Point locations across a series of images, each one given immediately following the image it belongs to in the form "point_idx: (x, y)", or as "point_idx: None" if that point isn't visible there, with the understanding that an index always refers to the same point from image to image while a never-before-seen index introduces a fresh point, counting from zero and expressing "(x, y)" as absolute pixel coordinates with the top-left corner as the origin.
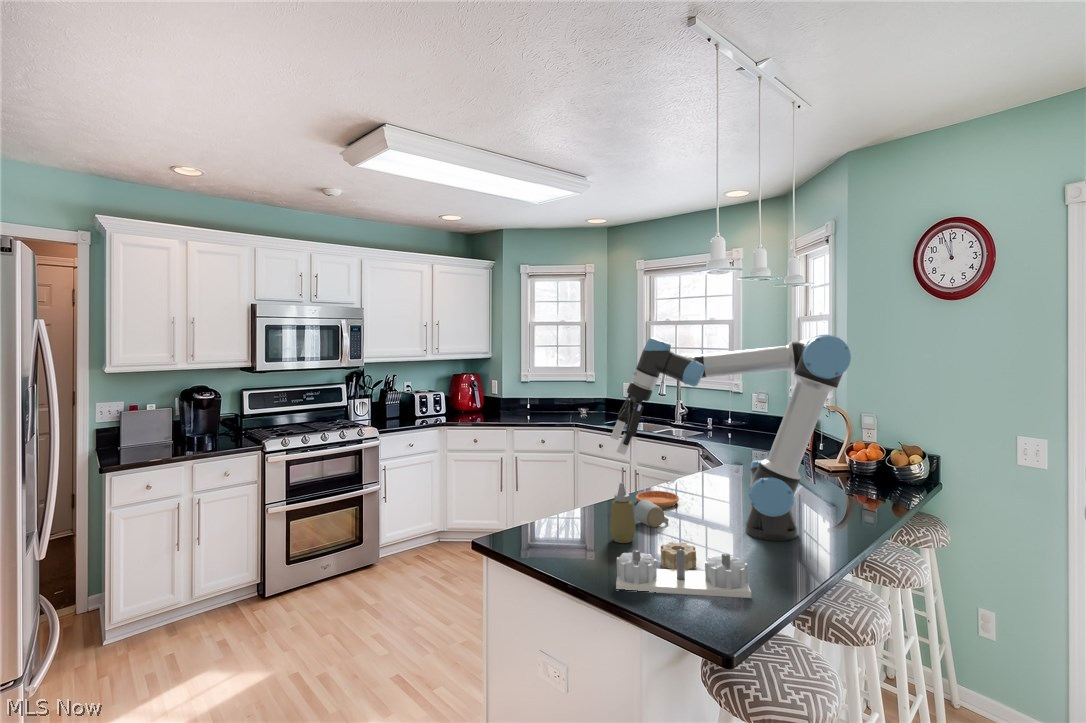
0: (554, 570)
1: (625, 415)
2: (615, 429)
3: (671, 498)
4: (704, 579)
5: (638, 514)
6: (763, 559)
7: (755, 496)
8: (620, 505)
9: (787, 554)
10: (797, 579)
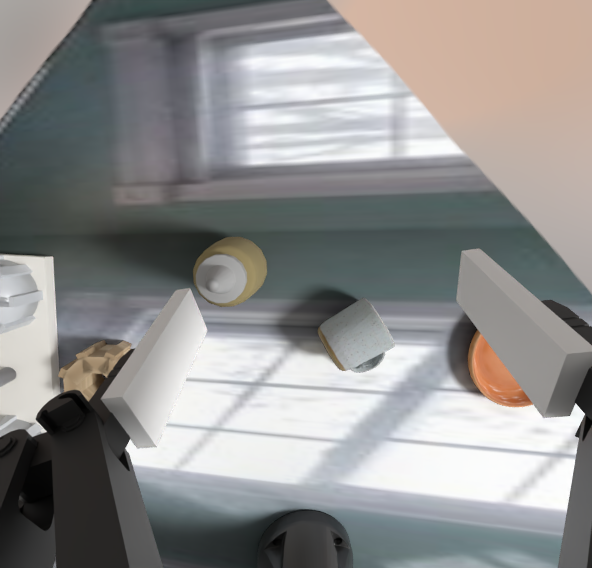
0: (38, 117)
1: (581, 492)
2: (499, 298)
3: None
4: (13, 413)
5: (348, 308)
6: (162, 515)
7: None
8: (193, 271)
9: (192, 556)
10: None
